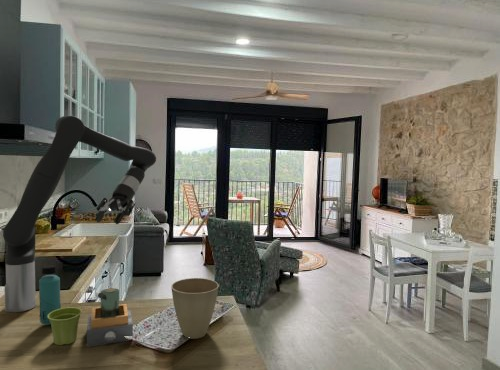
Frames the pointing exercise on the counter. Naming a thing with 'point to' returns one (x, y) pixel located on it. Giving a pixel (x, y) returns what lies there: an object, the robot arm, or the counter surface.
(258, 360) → the counter surface
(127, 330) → the gearbox
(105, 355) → the counter surface
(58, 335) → the plant pot
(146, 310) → the counter surface
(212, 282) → the plant pot
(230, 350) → the counter surface
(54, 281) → the beverage bottle
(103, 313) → the spout can
